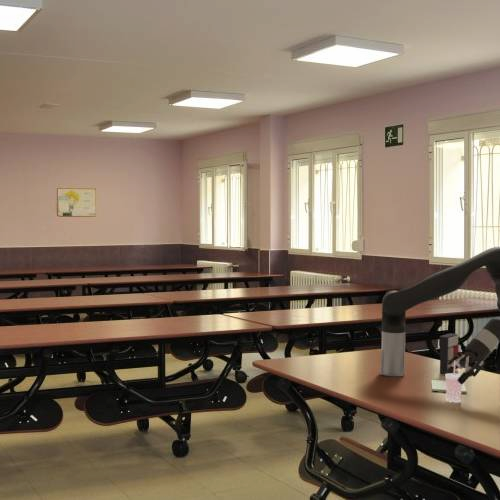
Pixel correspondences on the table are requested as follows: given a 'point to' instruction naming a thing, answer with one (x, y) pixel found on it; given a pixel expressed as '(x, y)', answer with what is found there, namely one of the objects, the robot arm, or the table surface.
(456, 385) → the beverage cup
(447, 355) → the grey and red box
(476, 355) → the robot arm
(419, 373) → the table surface
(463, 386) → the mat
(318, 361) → the table surface
